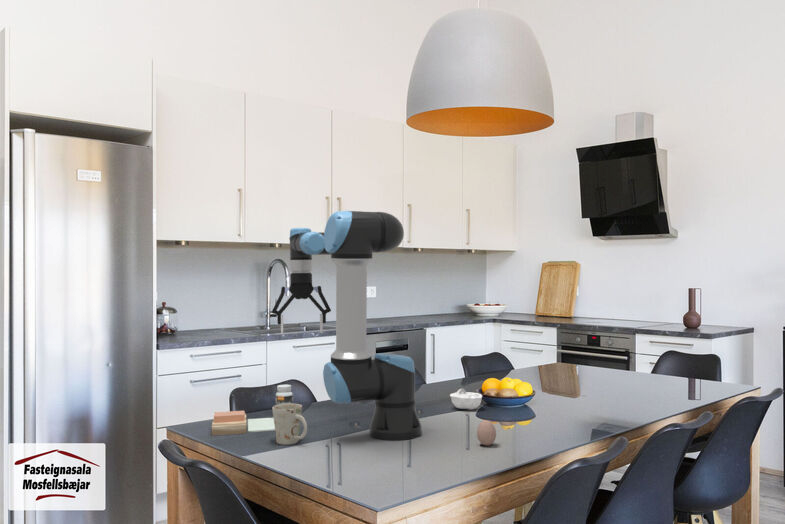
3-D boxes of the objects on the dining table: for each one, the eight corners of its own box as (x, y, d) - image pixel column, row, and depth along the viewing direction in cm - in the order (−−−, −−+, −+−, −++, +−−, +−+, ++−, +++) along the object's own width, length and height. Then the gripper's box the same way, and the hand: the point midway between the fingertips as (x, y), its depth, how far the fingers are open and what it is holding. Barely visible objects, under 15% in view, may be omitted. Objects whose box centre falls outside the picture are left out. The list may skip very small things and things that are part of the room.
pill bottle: (276, 418, 217) (276, 387, 217) (275, 414, 223) (274, 384, 223) (294, 416, 219) (293, 386, 219) (292, 413, 224) (291, 383, 224)
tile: (244, 416, 208) (244, 410, 208) (244, 421, 202) (244, 414, 202) (214, 418, 206) (214, 412, 206) (214, 423, 200) (214, 416, 200)
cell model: (468, 414, 219) (468, 393, 219) (443, 408, 228) (443, 389, 228) (489, 409, 225) (489, 389, 225) (464, 404, 234) (464, 385, 234)
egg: (473, 445, 180) (472, 420, 180) (485, 441, 184) (484, 417, 184) (488, 449, 177) (488, 423, 177) (500, 445, 180) (499, 420, 180)
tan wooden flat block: (246, 433, 197) (246, 424, 197) (211, 435, 195) (211, 427, 195) (246, 421, 213) (246, 413, 213) (213, 423, 211) (213, 415, 211)
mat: (288, 429, 201) (288, 428, 201) (248, 432, 198) (248, 431, 198) (285, 418, 217) (285, 416, 217) (247, 420, 214) (247, 419, 214)
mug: (288, 436, 193) (288, 402, 193) (319, 443, 185) (318, 407, 185) (266, 442, 186) (266, 407, 186) (297, 450, 178) (296, 412, 178)
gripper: (335, 271, 237) (336, 331, 237) (264, 272, 233) (265, 333, 232) (338, 271, 230) (338, 333, 230) (264, 273, 225) (265, 335, 225)
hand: (301, 333), depth 231 cm, fingers open, 13 cm apart
